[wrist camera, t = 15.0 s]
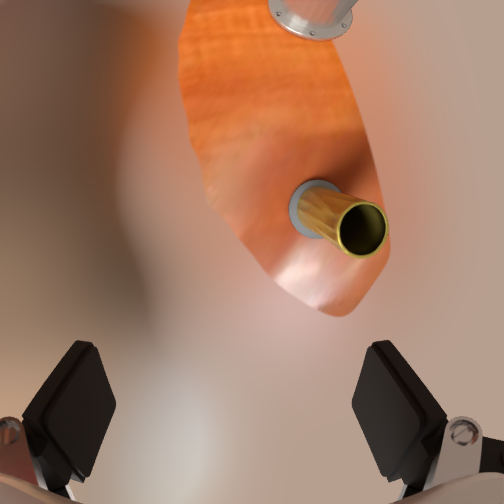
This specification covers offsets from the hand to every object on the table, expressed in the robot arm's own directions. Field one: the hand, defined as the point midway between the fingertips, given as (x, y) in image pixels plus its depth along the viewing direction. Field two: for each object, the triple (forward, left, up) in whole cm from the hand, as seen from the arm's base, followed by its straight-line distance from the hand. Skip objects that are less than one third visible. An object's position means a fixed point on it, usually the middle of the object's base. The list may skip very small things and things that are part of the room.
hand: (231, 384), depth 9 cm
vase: (-2, +11, -30) cm, 32 cm away
